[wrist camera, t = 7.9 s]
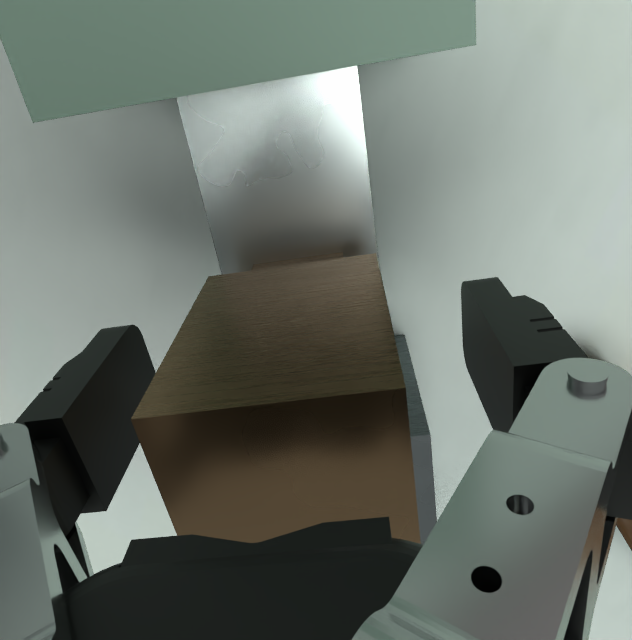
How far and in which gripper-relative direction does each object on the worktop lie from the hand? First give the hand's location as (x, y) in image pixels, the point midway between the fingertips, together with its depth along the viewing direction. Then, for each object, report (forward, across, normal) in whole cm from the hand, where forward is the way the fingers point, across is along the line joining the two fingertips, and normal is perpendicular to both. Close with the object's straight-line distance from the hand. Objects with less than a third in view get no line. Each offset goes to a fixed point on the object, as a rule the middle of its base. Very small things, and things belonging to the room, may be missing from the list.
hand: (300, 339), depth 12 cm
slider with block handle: (+7, 0, 0) cm, 7 cm away
